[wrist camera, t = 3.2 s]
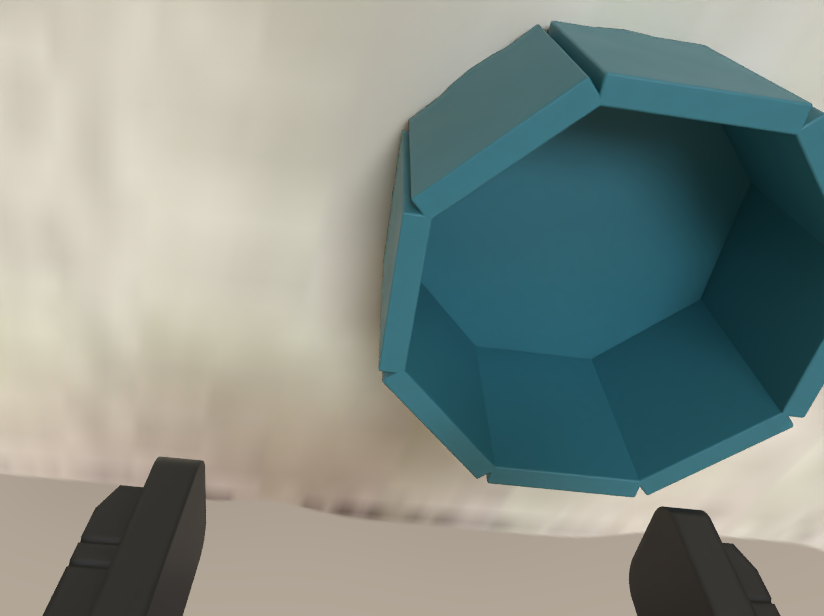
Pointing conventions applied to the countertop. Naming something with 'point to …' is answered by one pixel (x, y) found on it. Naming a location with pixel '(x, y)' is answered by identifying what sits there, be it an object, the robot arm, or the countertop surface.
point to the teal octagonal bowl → (606, 262)
